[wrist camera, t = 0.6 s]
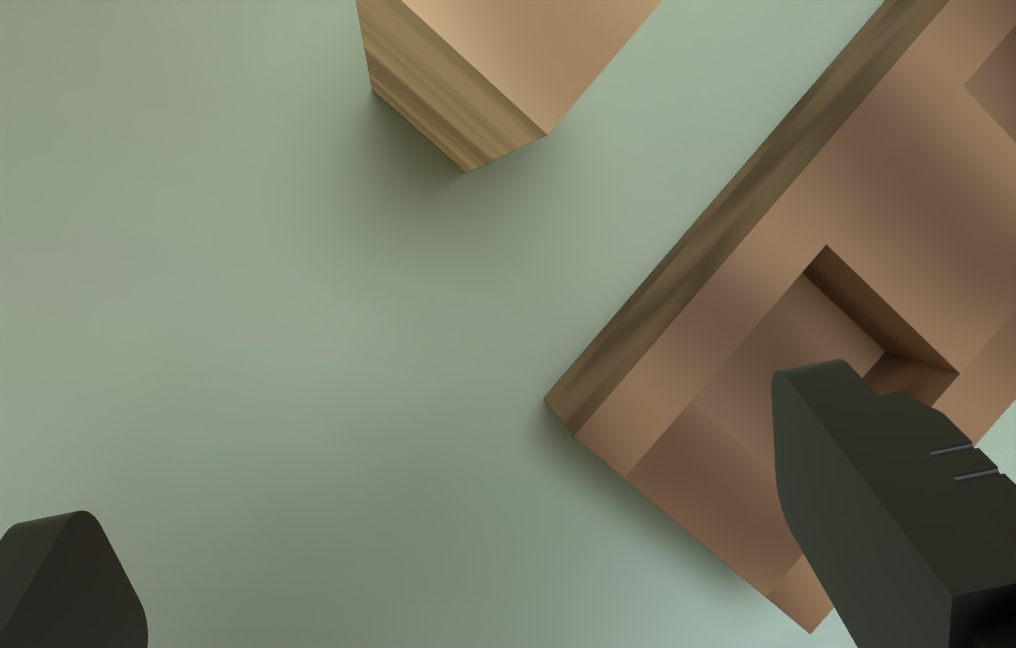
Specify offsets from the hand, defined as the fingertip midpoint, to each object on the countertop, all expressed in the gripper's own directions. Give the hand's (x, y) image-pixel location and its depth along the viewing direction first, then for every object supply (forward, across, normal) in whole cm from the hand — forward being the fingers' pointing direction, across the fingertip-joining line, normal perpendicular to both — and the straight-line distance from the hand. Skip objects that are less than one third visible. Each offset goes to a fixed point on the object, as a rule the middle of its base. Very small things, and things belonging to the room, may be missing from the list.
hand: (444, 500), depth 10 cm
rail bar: (+20, -1, -1) cm, 20 cm away
